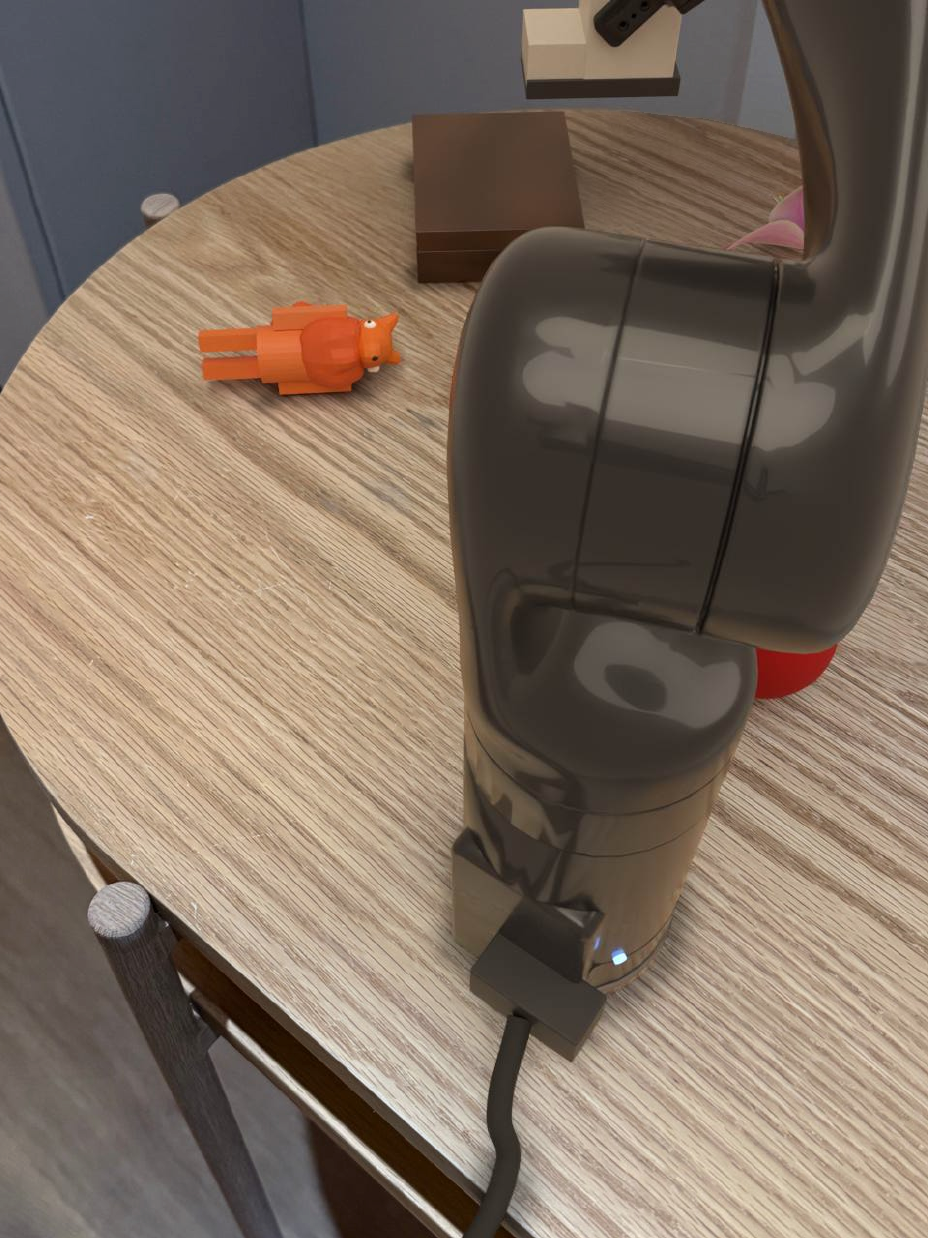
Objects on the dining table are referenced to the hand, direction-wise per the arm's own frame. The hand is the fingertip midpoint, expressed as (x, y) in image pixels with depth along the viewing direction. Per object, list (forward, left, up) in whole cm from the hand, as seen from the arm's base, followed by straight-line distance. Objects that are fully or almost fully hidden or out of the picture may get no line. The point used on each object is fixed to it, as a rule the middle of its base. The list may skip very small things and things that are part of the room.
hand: (598, 12), depth 70 cm
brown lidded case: (-4, +5, -14) cm, 16 cm away
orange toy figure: (-24, +5, -15) cm, 28 cm away
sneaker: (0, 0, -4) cm, 4 cm away
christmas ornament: (-28, -28, -15) cm, 42 cm away
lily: (+2, -15, -15) cm, 21 cm away
